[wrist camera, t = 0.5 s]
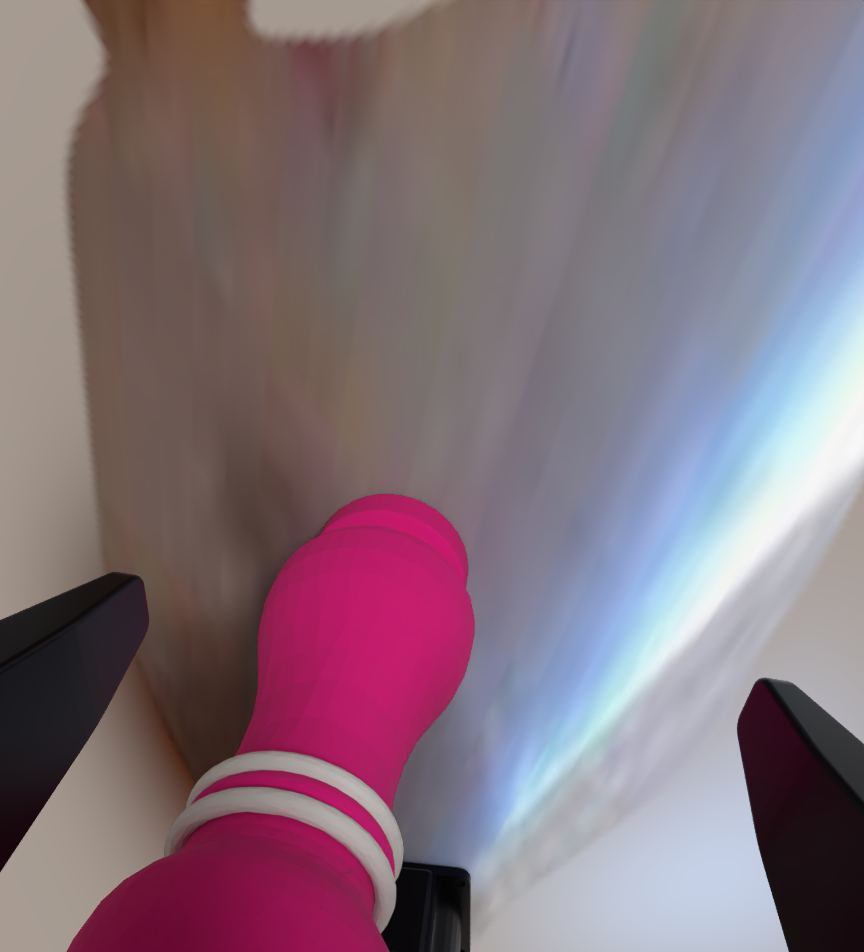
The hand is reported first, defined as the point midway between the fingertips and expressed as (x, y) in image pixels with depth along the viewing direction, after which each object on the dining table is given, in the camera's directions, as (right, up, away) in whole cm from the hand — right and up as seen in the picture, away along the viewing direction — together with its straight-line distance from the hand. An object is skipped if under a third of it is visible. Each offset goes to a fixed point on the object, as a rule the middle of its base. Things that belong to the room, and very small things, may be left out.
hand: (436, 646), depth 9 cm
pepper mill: (-2, -1, +16) cm, 17 cm away
